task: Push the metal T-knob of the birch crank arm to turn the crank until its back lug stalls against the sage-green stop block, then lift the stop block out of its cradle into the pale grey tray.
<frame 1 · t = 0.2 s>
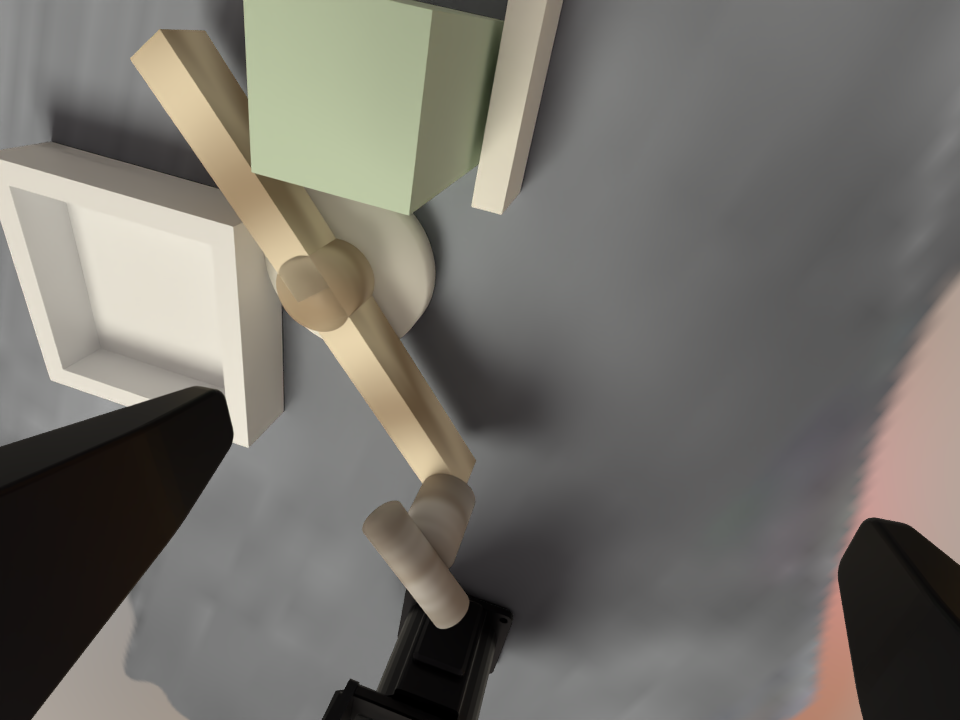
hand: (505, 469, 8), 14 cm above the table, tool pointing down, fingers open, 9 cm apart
tray: (177, 288, 26), on the table
crank: (323, 350, 19), point 5 cm above the table, hinge at 40.0°
stop block: (446, 79, 18), on the table
crank housing: (356, 262, 22), on the table
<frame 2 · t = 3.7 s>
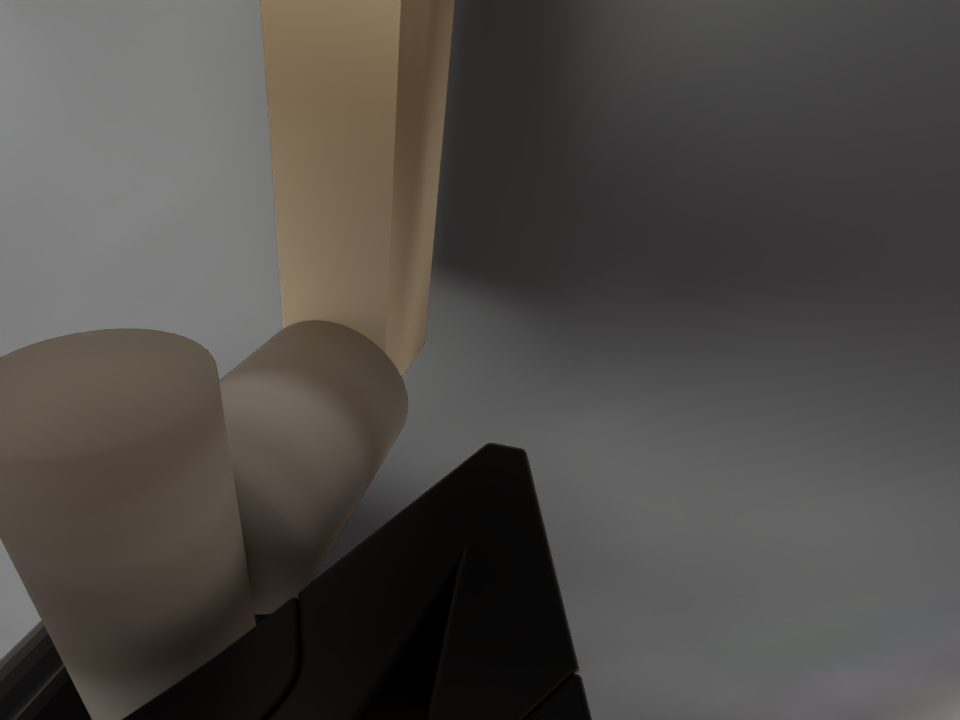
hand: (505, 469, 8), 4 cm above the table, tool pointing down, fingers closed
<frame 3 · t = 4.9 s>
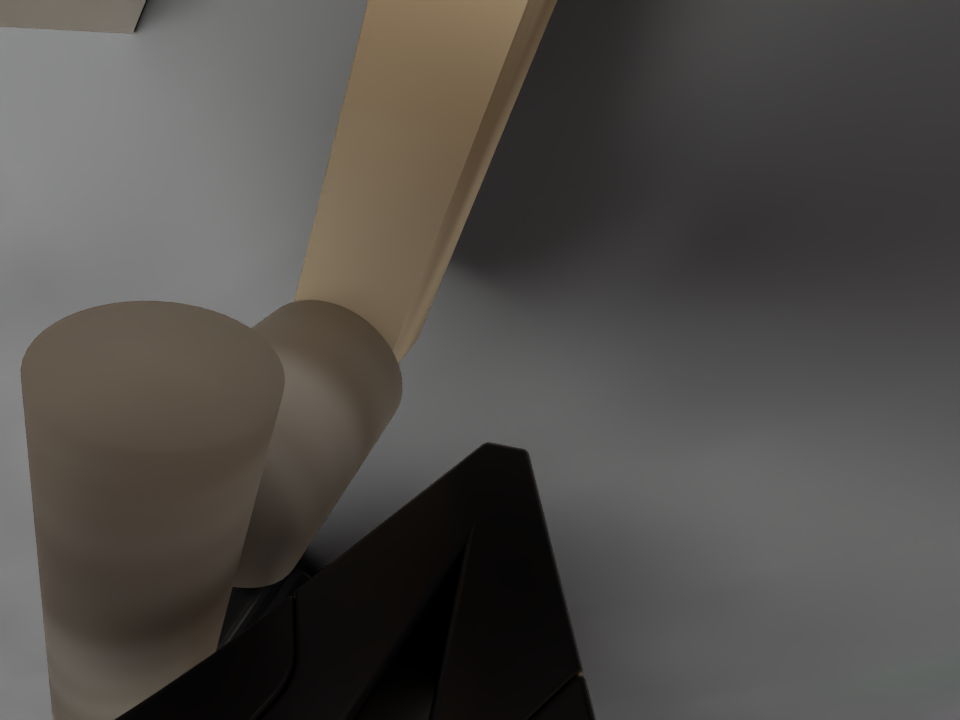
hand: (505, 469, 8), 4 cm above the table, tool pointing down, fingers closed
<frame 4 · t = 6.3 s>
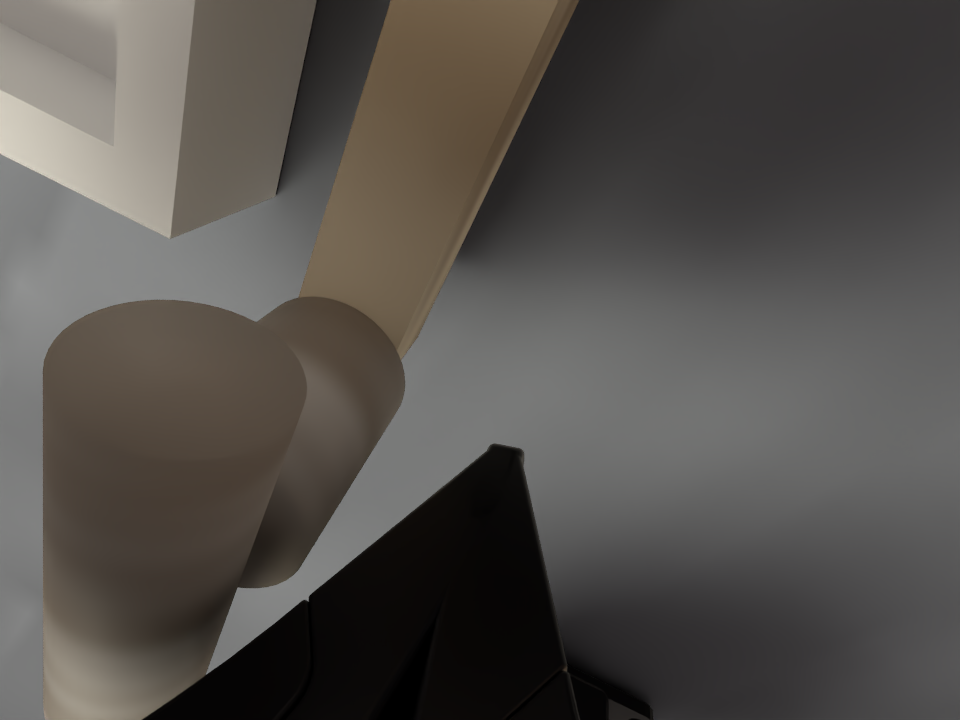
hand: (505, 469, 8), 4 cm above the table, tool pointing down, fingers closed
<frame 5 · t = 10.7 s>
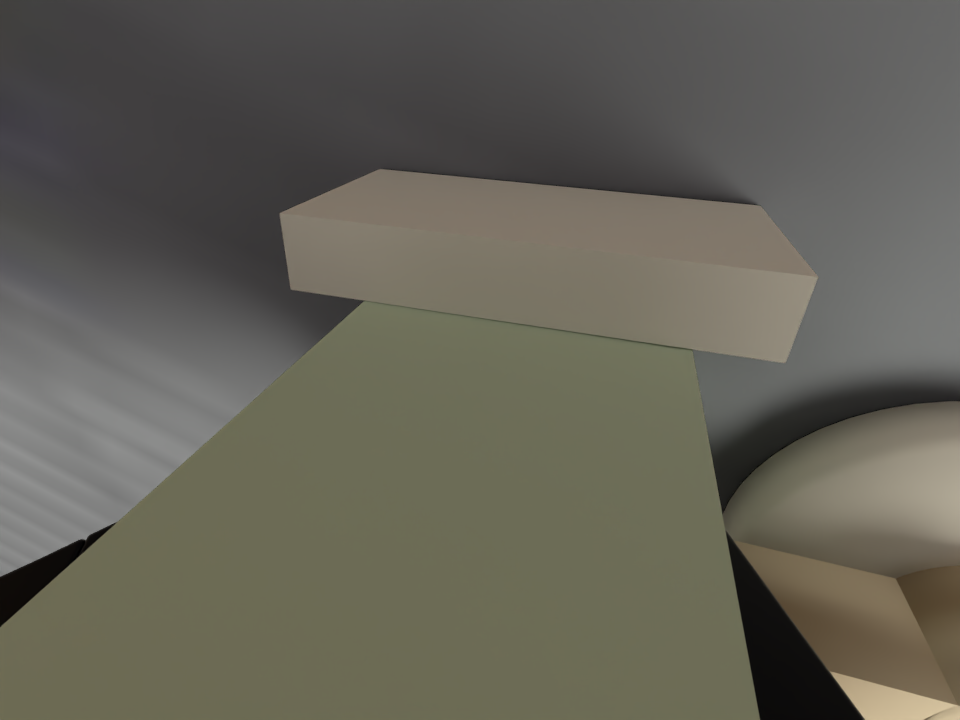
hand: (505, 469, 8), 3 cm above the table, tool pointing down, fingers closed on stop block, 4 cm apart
stop block: (540, 352, 10), on the table, touching crank, gripper
crank housing: (917, 557, 10), on the table
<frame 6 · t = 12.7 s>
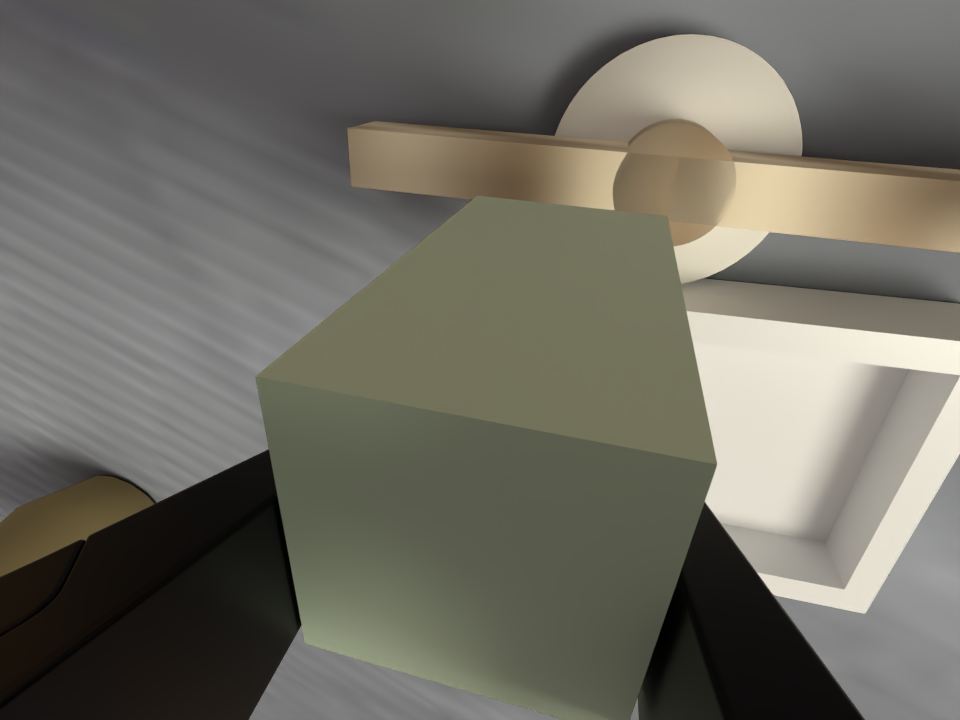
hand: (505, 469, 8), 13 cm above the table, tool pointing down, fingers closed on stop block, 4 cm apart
tray: (729, 420, 20), on the table
squeeze bottle: (131, 507, 33), on the table
crank: (754, 208, 12), point 5 cm above the table, hinge at -1.7°
stop block: (557, 293, 12), point 7 cm above the table, touching gripper
crank housing: (665, 166, 17), on the table
when the fingers open (5 cm above the table, at t = 15.0 s): stop block stays where it is, resting on tray.
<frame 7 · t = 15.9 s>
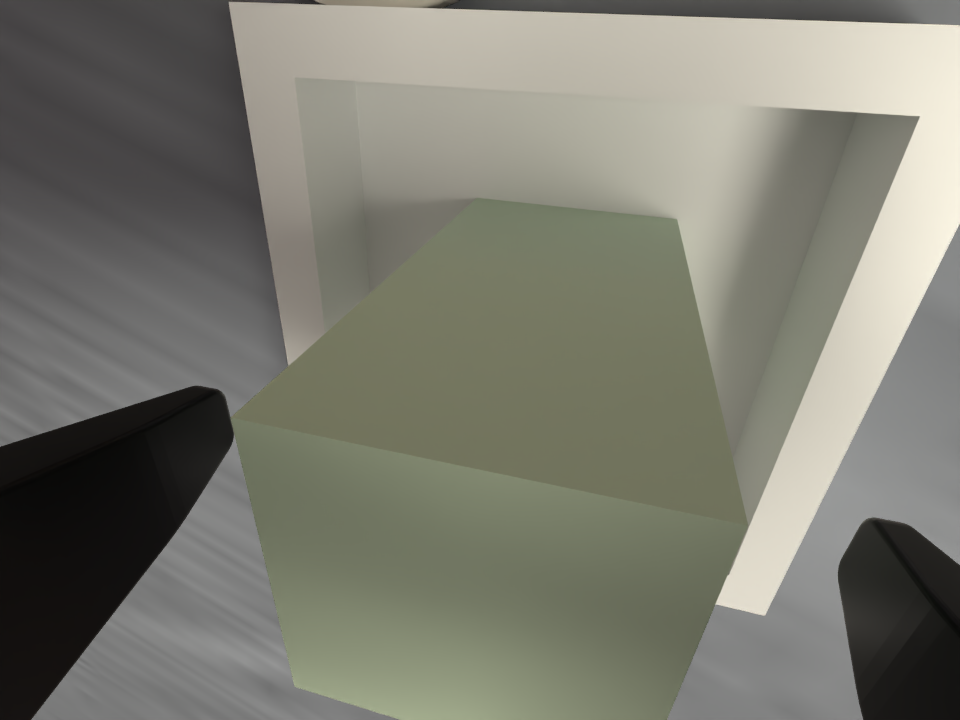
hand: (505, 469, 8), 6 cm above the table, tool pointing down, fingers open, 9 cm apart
tray: (561, 299, 13), on the table
stop block: (561, 299, 12), point 1 cm above the table, touching tray
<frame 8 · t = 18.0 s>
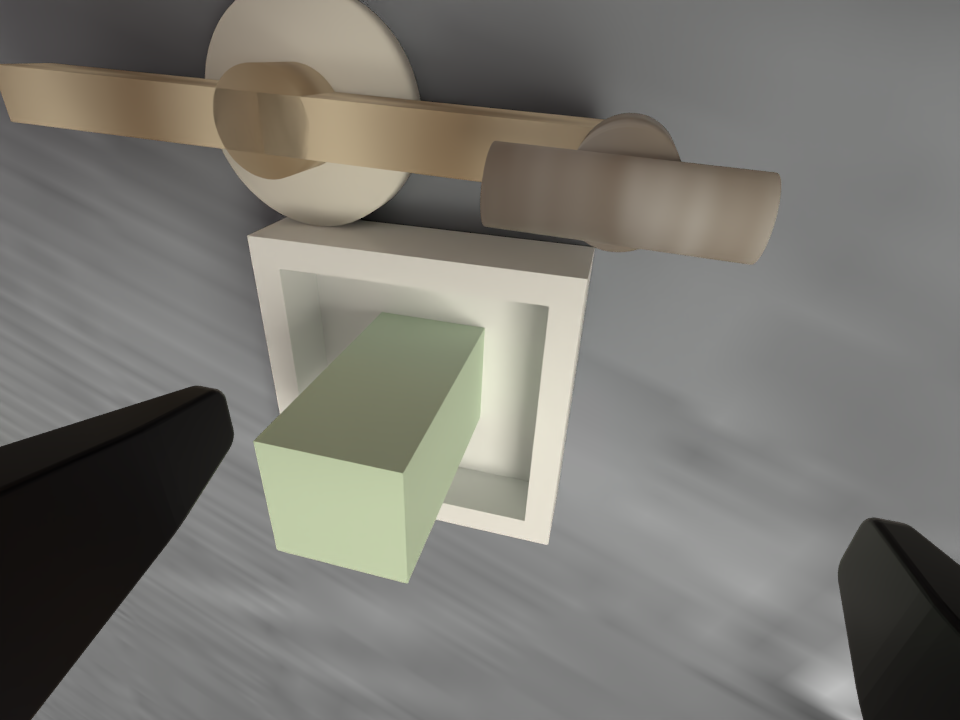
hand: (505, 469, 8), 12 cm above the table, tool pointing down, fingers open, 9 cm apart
tray: (437, 363, 22), on the table
crank: (293, 136, 14), point 5 cm above the table, hinge at -1.7°
stop block: (432, 366, 21), point 1 cm above the table, touching tray
crank housing: (323, 112, 18), on the table
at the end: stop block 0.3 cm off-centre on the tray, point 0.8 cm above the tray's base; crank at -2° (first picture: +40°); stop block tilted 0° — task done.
